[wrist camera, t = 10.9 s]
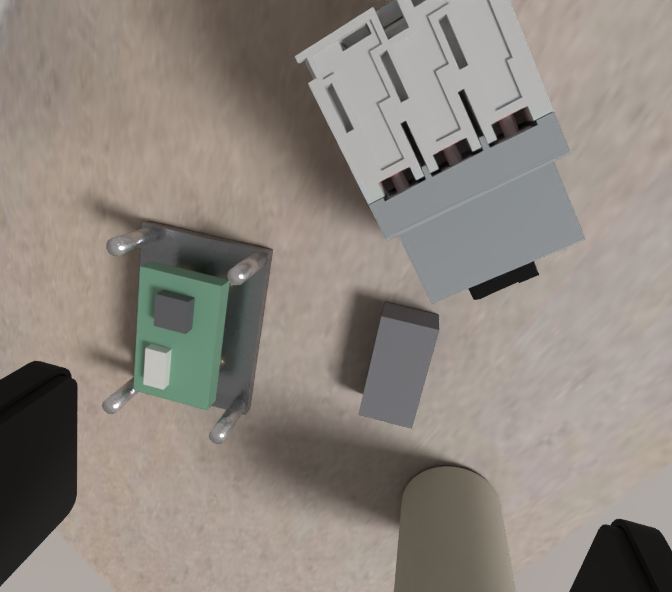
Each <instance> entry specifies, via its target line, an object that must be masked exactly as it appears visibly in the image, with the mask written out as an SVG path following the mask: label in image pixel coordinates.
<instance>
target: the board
mask: <svg viewBox="0 0 672 592" xmlns="http://www.w3.org/2000/svg"><path fill="white" fill-rule="evenodd" d="M229 283H230V281H229V280H228V279H223V278H219V277H215V276H211V275H207V274H203V273H199V272H195V271H191V270H186V269H182V268H178V267H174V266H170V265H166V264H162V263H158V262H153V261H150V262H148V263H146V264H144V265H142V266H140V278H139V297H138V315H137V334H136V352H135V371H134V390H135V391H139V392H142V393H146V394H150V395H153V396H157V397H161V398H164V399H168V400H172V401H175V402H179V403H182V404H186V405H190V406H193V407H197V408H201V409H204V410H208V409H209V408H210V407H211V405H212V404H213V403H214V402H215V400H216V392H217V384H218V375H219V367H220V359H221V350H222V342H223V334H224V325H225V317H226V308H227V300H228V292H229Z"/></svg>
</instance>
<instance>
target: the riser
mask: <svg viewBox="0 0 672 592" xmlns="http://www.w3.org/2000/svg"><path fill="white" fill-rule="evenodd" d="M438 332H439V315H438V314H433V313H429V312H425V311H421V310H416V309H412V308H408V307H404V306H399V305H395V304H391V303H387V302H385V305H384V308H383V312H382V315H381V320H380V324H379V328H378V333H377V337H376V341H375V346H374V350H373V354H372V358H371V363H370V367H369V371H368V376H367V380H366V384H365V389H364V393H363V397H362V402H361V406H360V410H359V415H361V416H365V417H369V418H373V419H377V420H380V421H384V422H388V423H392V424H396V425H399V426H403V427H407V428H411V429H412V426H413V423H414V419H415V415H416V412H417V408H418V404H419V401H420V397H421V394H422V390H423V386H424V383H425V379H426V376H427V372H428V368H429V365H430V361H431V358H432V354H433V350H434V347H435V343H436V340H437V336H438Z"/></svg>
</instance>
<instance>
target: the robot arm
mask: <svg viewBox="0 0 672 592" xmlns="http://www.w3.org/2000/svg"><path fill="white" fill-rule="evenodd" d="M76 496H77V382H76V380H74V379H72V377H71V373H70V371H69V370H68V369H66V368H63V367H59V366H56V365H52V364H48V363H45V362H41V361H33V362H31V363H28V364H27V365H25V366H23V367H21V368H20V369H18V370H16V371H15V372H13V373H11V374H9V375H8V376H6V377H4V378H3V379H1V380H0V586H1V585H2V584H3V583H4V582H5V581H6V580H7V579H8V578H9V577H10V576H11V575H12V573H13V572H14V571H15V570H16V569H17V568H18V567H19V566H20V565H21V564H22V563H23V562H24V561H25V560H26V559H27V557H29V555H30V554H31V553H32V552H33V551H34V550H35V549H36V548H37V547H38V546H39V545H40V544H41V543H42V542H43V541H44V540H45V538H46V537H47V536H48V535H49V534H50V533H51V532H52V531H53V530H54V529H55V528H56V527H57V526H58V525H59V524H60V523H61V522H62V521H63V520H64V518H65V517H66V516H67V515H68V514H69V513H70V511H71V509H72V508H73V505H74V503H75V500H76ZM569 592H672V550H671V549H670V547H669V545H668V543H667V541H666V540H665V538H664V536H663V535H662V533H661V532H660V531H659V530H657V529H656V528H652V527H649V526H645V525H641V524H638V523H634V522H631V521H627V520H623V519H616V520H614V522H612V524H611V525H602V526H601V527H600V529H599V530H598V532H597V534H596V536H595V538H594V540H593V543H592V545H591V547H590V549H589V551H588V553H587V555H586V557H585V559H584V562H583V564H582V566H581V568H580V570H579V572H578V574H577V577H576V579H575V581H574V583H573V585H572V587H571V589H570V591H569Z"/></svg>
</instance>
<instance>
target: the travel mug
mask: <svg viewBox="0 0 672 592" xmlns="http://www.w3.org/2000/svg"><path fill="white" fill-rule="evenodd" d="M394 592H516V588H515V582H514V577H513V571H512V566H511V560H510V554H509V549H508V543H507V538H506V532H505V527H504V521H503V515H502V510H501V504H500V500H499V497H498V495H497V493H496V491H495V490H494V488H493V487H492V486H491V485H490V484H489V483H488V482H487V481H486V480H485V479H484V478H482V477H481V476H479V475H478V474H476V473H474V472H472V471H469V470H466V469H463V468H459V467H449V466H445V467H436V468H432V469H428V470H426V471H424V472H422V473H420V474H418V475H417V476H415V477H414V478H413V479H412V480H411V481H410V482H409V483H408V485H407V486H406V488H405V490H404V492H403V496H402V504H401V515H400V527H399V539H398V551H397V563H396V574H395V586H394Z"/></svg>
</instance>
